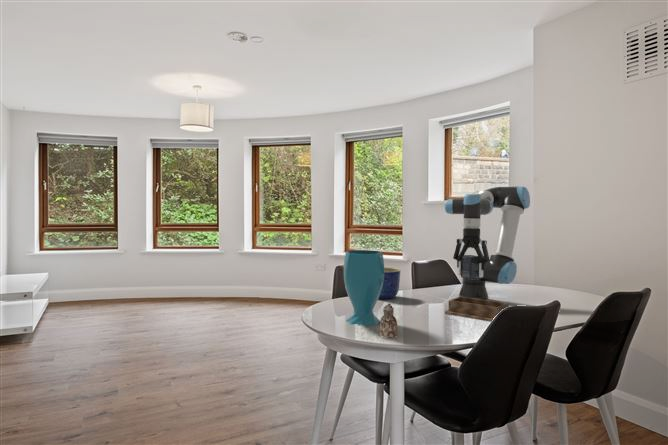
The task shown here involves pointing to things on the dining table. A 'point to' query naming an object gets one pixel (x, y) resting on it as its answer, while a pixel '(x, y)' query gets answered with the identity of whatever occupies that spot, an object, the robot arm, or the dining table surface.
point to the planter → (390, 283)
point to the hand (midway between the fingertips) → (470, 276)
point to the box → (470, 267)
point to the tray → (475, 308)
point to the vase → (363, 283)
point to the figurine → (388, 323)
